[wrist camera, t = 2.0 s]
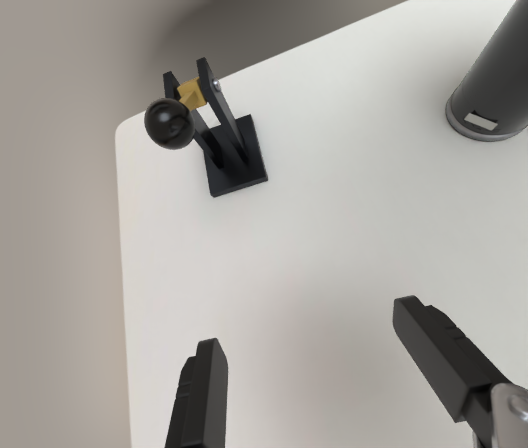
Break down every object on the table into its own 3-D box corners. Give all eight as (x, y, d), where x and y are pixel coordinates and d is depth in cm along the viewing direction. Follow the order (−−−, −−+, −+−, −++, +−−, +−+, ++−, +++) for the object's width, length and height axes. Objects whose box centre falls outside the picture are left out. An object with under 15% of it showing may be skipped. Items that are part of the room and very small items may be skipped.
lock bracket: (268, 180, 36) (236, 109, 22) (213, 197, 37) (150, 140, 23) (252, 118, 40) (216, 25, 26) (203, 136, 41) (144, 56, 27)
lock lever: (200, 148, 17) (174, 96, 15) (157, 163, 18) (125, 115, 16) (216, 102, 28) (203, 68, 26) (189, 112, 29) (173, 79, 27)
